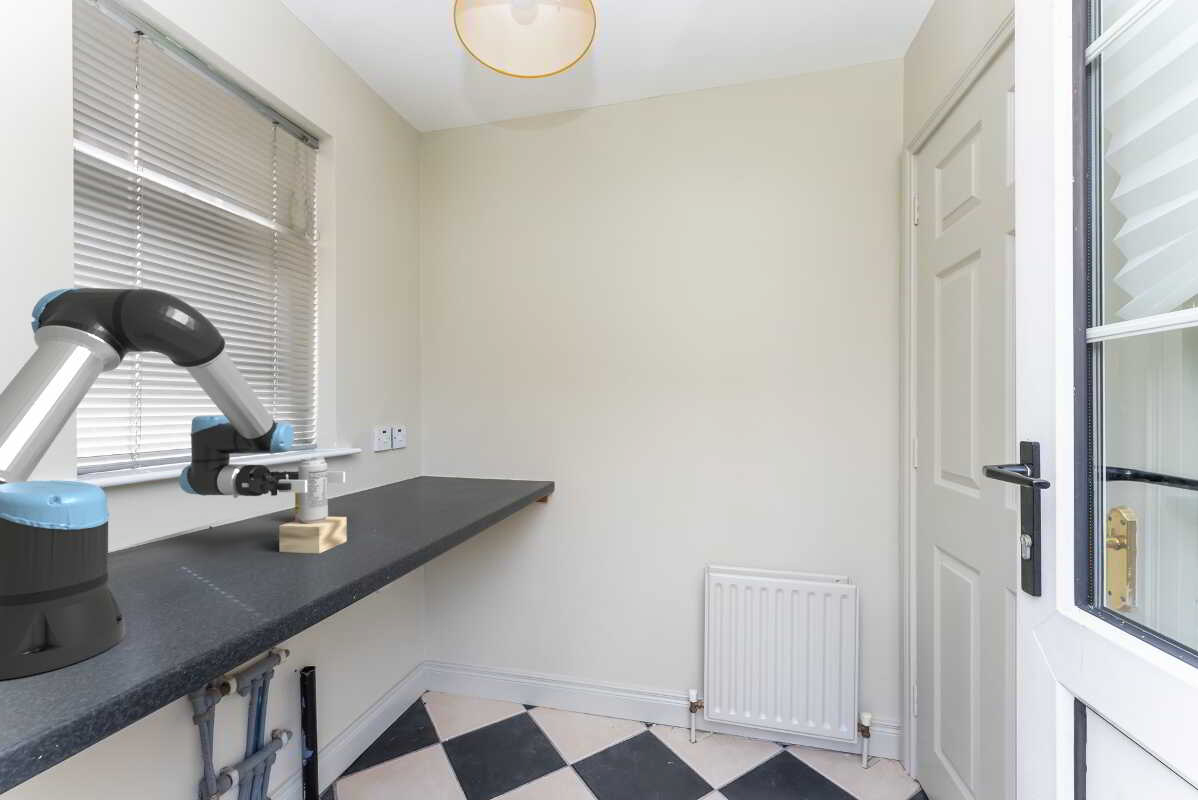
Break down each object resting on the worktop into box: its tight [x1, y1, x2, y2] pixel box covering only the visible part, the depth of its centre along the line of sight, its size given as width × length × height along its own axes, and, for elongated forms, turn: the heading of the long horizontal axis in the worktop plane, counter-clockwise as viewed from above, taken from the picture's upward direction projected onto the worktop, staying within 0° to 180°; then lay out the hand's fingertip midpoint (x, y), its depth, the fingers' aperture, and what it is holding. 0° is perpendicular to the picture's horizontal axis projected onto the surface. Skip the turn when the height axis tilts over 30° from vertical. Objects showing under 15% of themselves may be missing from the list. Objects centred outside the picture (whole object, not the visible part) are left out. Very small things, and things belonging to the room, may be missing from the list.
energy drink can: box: [297, 456, 329, 524], centre depth 123 cm, size 6×6×15 cm
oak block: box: [278, 516, 348, 554], centre depth 123 cm, size 10×10×6 cm
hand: (326, 481), depth 123 cm, fingers open, 13 cm apart
